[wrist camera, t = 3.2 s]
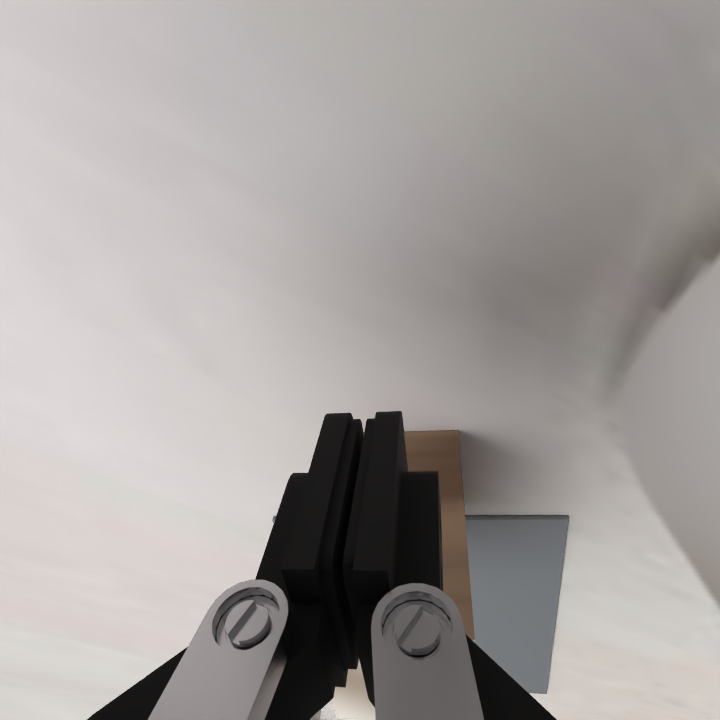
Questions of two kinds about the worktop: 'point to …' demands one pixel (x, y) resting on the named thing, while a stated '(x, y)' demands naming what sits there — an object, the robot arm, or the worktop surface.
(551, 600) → the mat
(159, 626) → the worktop surface
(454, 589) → the pillar block
